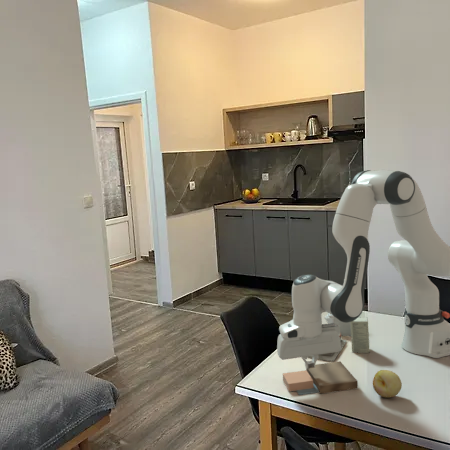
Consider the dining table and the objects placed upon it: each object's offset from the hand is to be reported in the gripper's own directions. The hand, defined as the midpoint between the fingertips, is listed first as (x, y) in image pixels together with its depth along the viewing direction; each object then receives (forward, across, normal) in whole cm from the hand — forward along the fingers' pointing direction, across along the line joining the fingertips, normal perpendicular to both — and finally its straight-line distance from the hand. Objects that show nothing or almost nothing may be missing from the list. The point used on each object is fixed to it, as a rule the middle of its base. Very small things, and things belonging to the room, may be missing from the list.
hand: (310, 367), depth 145 cm
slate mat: (+5, +2, 0) cm, 6 cm away
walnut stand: (+5, -6, 0) cm, 8 cm away
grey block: (+6, -24, -34) cm, 42 cm away
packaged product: (+6, -13, -22) cm, 27 cm away
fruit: (+6, -19, +14) cm, 24 cm away
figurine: (+6, -25, -45) cm, 52 cm away
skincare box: (+6, -24, -18) cm, 31 cm away
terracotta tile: (+5, +4, 0) cm, 7 cm away
